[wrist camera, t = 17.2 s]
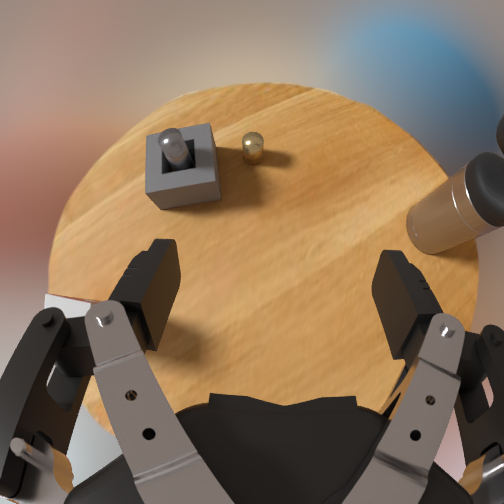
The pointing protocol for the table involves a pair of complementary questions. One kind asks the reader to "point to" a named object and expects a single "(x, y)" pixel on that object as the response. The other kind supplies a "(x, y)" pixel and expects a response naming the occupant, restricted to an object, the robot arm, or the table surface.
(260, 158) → the brass pin
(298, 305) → the table surface
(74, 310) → the small box
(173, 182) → the collar block
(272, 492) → the robot arm
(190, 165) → the grey metal rod
